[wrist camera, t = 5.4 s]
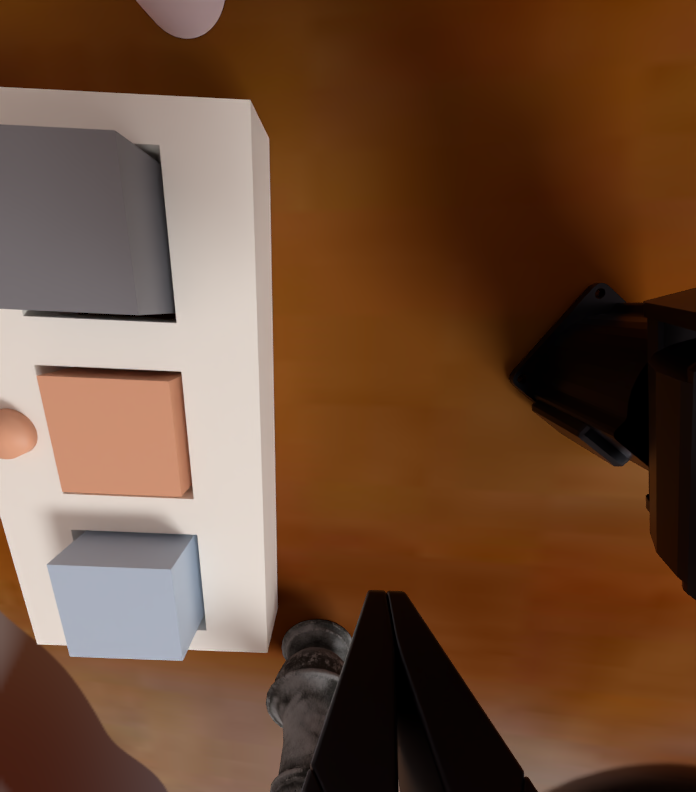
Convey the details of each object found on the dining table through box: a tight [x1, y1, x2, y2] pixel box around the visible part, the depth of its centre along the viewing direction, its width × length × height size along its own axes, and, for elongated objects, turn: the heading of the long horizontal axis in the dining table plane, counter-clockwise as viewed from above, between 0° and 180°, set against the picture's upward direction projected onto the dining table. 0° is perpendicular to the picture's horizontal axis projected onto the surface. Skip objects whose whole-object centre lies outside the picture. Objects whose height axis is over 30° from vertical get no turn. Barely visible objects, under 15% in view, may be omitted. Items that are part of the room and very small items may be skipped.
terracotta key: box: [37, 367, 192, 497], centre depth 17 cm, size 6×6×3 cm
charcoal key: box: [0, 124, 176, 315], centre depth 13 cm, size 6×6×3 cm
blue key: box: [47, 530, 205, 661], centre depth 18 cm, size 6×6×3 cm
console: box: [0, 87, 278, 653], centre depth 17 cm, size 28×14×4 cm, turn 177°
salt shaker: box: [266, 619, 352, 792], centre depth 18 cm, size 6×6×12 cm
